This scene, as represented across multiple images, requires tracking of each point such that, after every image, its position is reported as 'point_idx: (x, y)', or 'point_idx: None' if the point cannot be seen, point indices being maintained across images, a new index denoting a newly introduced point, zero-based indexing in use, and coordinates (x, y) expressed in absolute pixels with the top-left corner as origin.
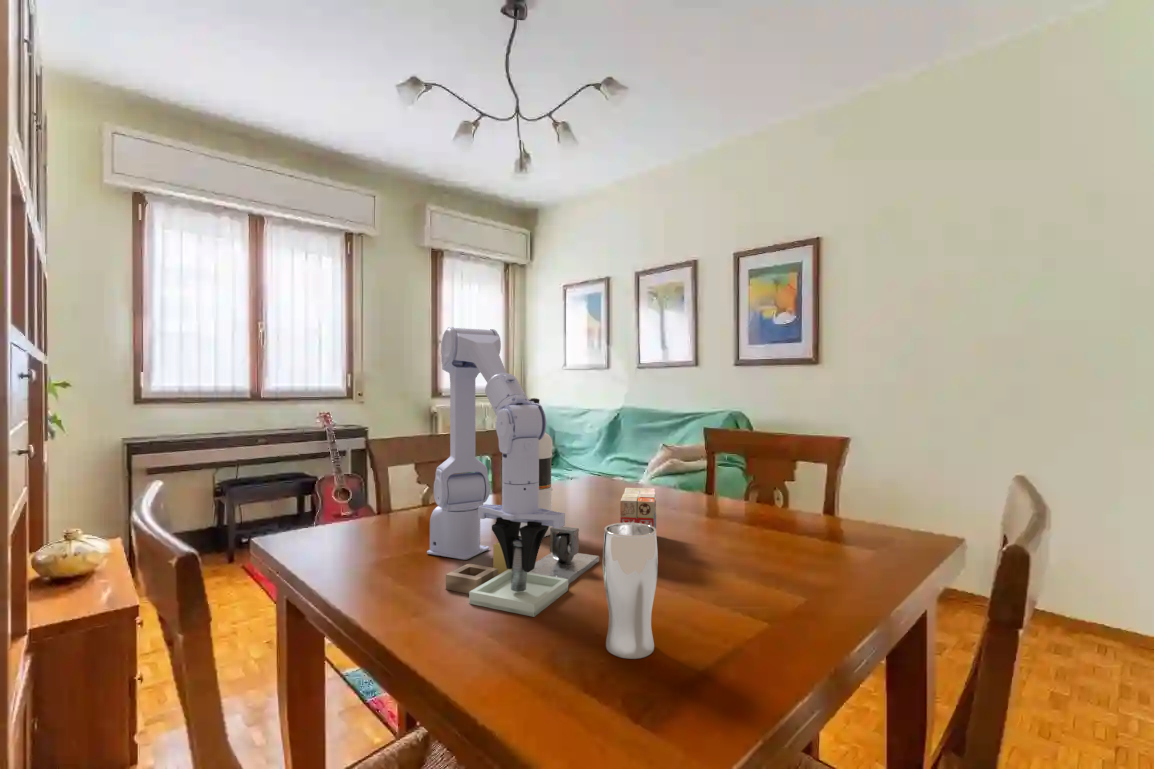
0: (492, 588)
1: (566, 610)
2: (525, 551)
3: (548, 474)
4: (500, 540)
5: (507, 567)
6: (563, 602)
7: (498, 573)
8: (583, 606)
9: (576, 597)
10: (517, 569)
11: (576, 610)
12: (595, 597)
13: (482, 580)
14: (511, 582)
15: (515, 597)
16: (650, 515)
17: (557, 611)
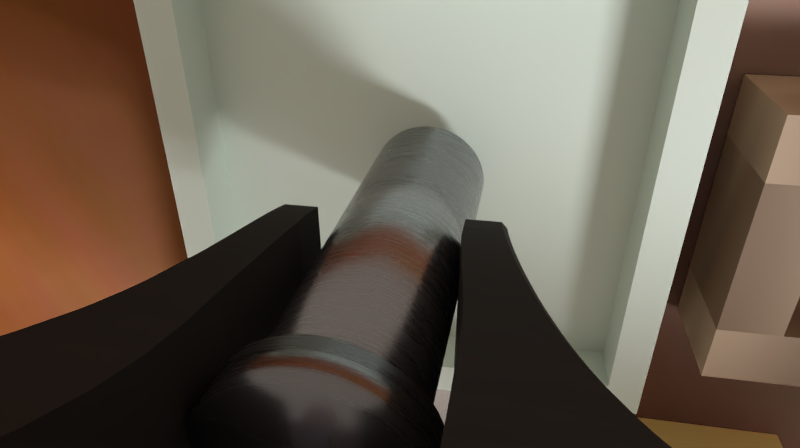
0: (645, 167)
1: (77, 79)
2: (194, 289)
3: None
4: (560, 385)
5: (492, 226)
6: (160, 174)
7: (736, 430)
8: (45, 163)
9: (148, 254)
10: (375, 206)
11: (36, 100)
12: (75, 281)
13: (750, 182)
14: (456, 162)
15: (410, 90)
16: None
17: (106, 45)
